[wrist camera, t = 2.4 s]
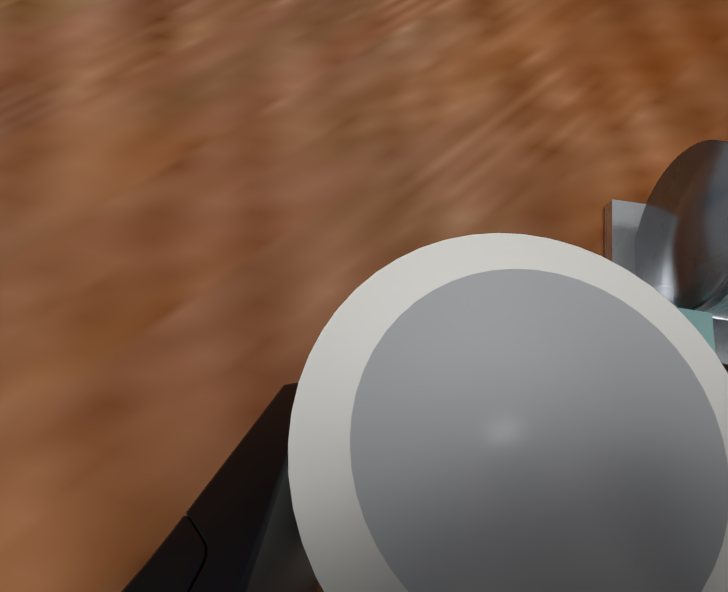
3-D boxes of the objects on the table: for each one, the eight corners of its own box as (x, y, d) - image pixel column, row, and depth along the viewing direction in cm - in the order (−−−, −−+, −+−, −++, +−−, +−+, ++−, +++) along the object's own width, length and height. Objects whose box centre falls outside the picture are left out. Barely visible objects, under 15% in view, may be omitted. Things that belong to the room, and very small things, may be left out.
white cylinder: (550, 508, 14) (954, 608, 4) (377, 592, 14) (401, 936, 4) (464, 340, 16) (614, 145, 6) (308, 406, 15) (201, 305, 6)
